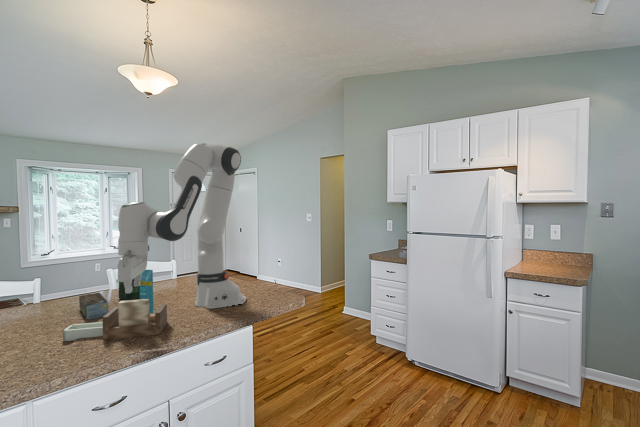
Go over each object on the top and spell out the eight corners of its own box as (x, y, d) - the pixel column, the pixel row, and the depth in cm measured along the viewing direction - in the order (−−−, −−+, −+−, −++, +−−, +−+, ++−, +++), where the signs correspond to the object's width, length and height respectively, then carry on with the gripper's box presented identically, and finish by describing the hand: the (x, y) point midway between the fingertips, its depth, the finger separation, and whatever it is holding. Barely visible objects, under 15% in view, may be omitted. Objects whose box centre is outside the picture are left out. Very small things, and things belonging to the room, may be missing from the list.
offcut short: (157, 318, 122) (157, 312, 122) (155, 322, 119) (155, 315, 119) (140, 320, 121) (140, 314, 121) (138, 323, 117) (138, 317, 117)
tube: (135, 317, 132) (133, 269, 132) (144, 313, 137) (143, 267, 136) (149, 319, 130) (148, 270, 129) (159, 315, 135) (158, 268, 134)
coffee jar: (143, 297, 161) (142, 259, 160) (127, 301, 154) (126, 262, 153) (132, 295, 165) (131, 258, 165) (115, 299, 158) (114, 260, 158)
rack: (167, 324, 124) (166, 303, 124) (160, 335, 113) (160, 312, 113) (115, 328, 120) (114, 307, 120) (103, 341, 109) (102, 317, 109)
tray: (111, 330, 118) (111, 321, 118) (105, 337, 112) (104, 327, 112) (71, 334, 115) (71, 324, 115) (63, 341, 109) (62, 330, 109)
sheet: (150, 332, 116) (149, 298, 116) (148, 335, 114) (147, 300, 114) (121, 335, 114) (120, 300, 114) (119, 338, 112) (118, 303, 111)
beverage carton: (85, 320, 130) (84, 304, 129) (78, 309, 144) (78, 294, 144) (109, 316, 135) (108, 300, 135) (100, 305, 149) (100, 291, 149)
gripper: (134, 253, 104) (134, 296, 104) (150, 245, 124) (150, 282, 124) (112, 253, 102) (111, 297, 102) (131, 245, 122) (131, 283, 122)
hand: (133, 289), depth 113 cm, fingers open, 8 cm apart
